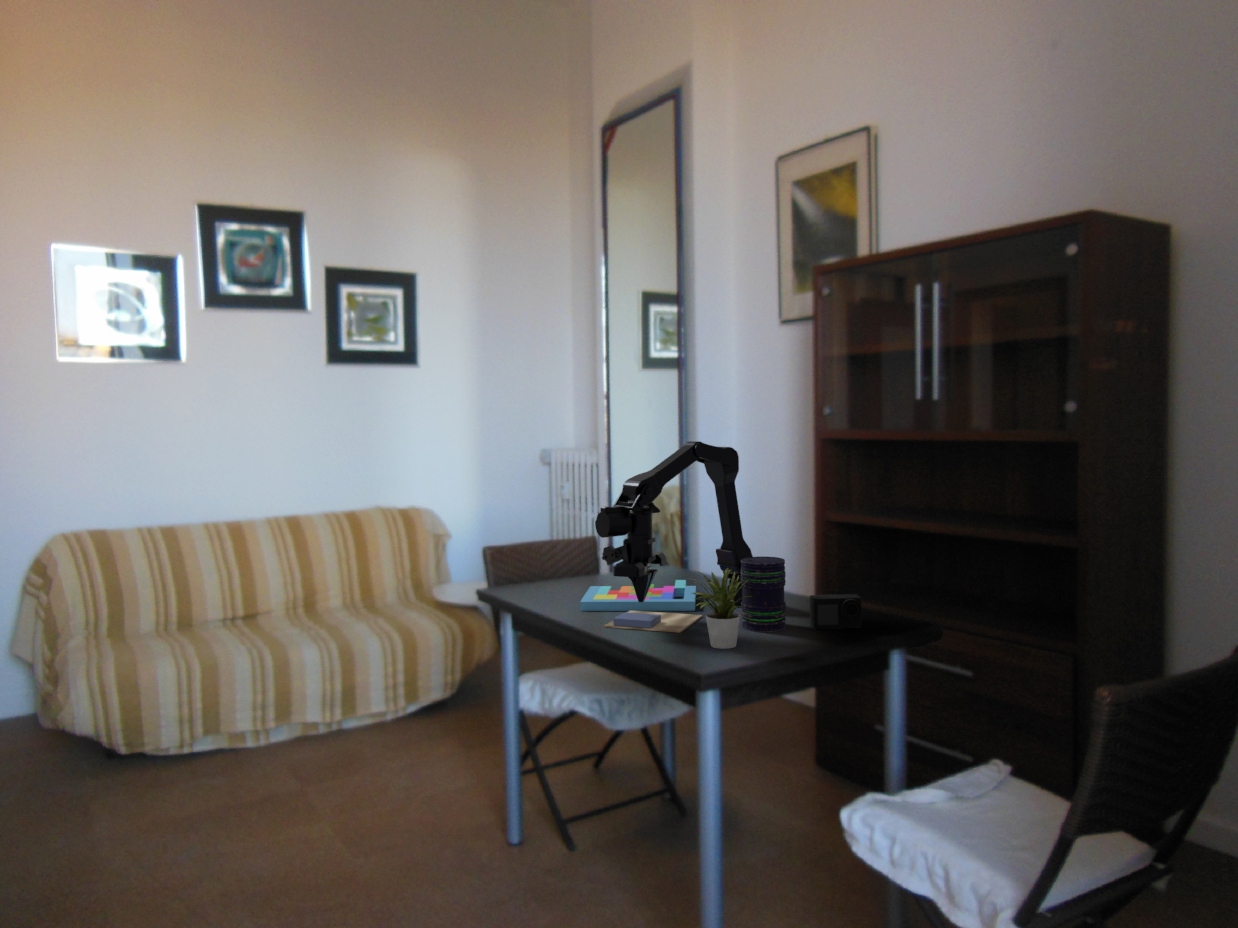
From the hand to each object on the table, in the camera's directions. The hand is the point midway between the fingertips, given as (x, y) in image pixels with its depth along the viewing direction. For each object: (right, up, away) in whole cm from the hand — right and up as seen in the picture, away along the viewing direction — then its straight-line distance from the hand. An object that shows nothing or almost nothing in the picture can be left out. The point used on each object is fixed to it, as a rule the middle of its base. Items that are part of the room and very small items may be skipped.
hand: (641, 601), depth 204 cm
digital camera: (+43, -5, -8) cm, 43 cm away
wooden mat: (+3, -5, +2) cm, 6 cm away
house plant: (+16, -6, -19) cm, 26 cm away
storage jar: (+27, -5, -5) cm, 28 cm away
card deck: (0, -4, +1) cm, 4 cm away
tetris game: (+1, -4, +28) cm, 28 cm away
